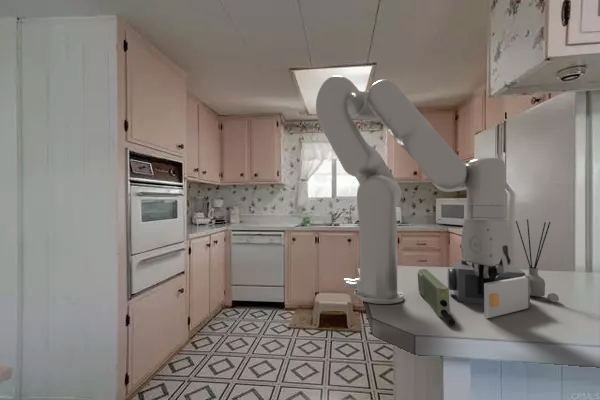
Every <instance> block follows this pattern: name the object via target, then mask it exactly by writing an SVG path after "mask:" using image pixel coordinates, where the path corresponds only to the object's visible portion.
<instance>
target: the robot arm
mask: <svg viewBox="0 0 600 400" xmlns="http://www.w3.org/2000/svg"><path fill="white" fill-rule="evenodd" d="M315 112H316V117H317V122H318V123H319V125H320V128H321V130H322V131H323V133H324V136H325V137H326V139H327V140H328V142H329V144H330V146H331V148H332V150H333V152H334V154H335V156H336V157H337V158H338V160H339V163H340V164H341V167H342V169H343V170H344V171H345V173H346V174H348V175H349V176H352V177H355V178H356V180H357V182H358V183H359V187H358V189H357V191H356V205H357V213H358V214H357V215H358V224H359V227H358V228H359V229H358V233H359V234H358V236H359V277H356V278H355V279H352V278H344V279H343V286H345V287H346V288H355V289H354V290H353V297H355V299H356V300H359V301H361V302H365V303H370V304H377V305H391V304H393V305H394V304H397V303H401V302H403V301H404V299H405V294H404V293H403V292H402V291H401V290H398V289H399V287H398V285H399V284H398V282H399V280H398V226H397V225H398V224H397V223H398V221H397V207H398V205H399V204H400V203H401V199H402V188H401V187H400V184H399V183H398V181H397V180H396V177H394V175H393V173H392V171H391V169H390V168H389V166H388V165H387V163H386V162H385V160H384V158H383V156H381V154H380V152H379V151H378V150H376V149H375V148H374V147H372V146H371V145H370V144H369V143H368V142H367V141H366V140H365V138H364V137H363V135H362V134H361V132H360V130H359V128H358V126H357V125H356V123H355V121H354V120H361V121H371V122H372V121H373V122H375V121H376V122H381V124H382V125H383V127H384V128H385V129H386V130H387V132H388V133H389V134H390V136H391V137H392V138H393V139H394V141H396V143H397V144H398V145H399V146H400V147H401V148H402V149H403V150H405V151H406V152H407V153H408V155H409V156H410V157H411V159H412V160H414V162H415V163H416V165H417V166H418V167H419V168H420V170H421V171H422V172H423V173H424V175H425V176H426V178H427V179H428V180H429V181H430V183H431V184H432V186H434V187H435V188H436V189H438V190H439V191H441V192H444V193H451V192H457V191H466V211H465V213H466V218H465V219H464V221H463V225H462V231H461V242H460V257H461V259H464V260H465V261H466V263H467V264H468V265H470V266H472V267H473V268H474V270H475V275H476V276H478V277H477V288H478V294H479V295H482V296H484V283H488V282H494V281H495V278H497V277H498V275H499V274H500V273H508V272H509V268H508V265H511V263H512V253H513V249H512V240H511V239H512V238H511V237H512V236H511V231H510V227H509V221H508V219H507V218H506V215H507V214H506V213H507V212H506V210H507V209H506V206H507V205H506V203H507V202H506V163H505V161H504V160H503V159H502V158H499V157H481V158H480V157H479V158H475V159H471V160H469V161H468V162H463V161H462V159H461V157H459V155H457V153H456V152H455V151H454V150H453V149H452V147H451V146H450V145H449V144H448V143H447V142H446V140H445V139H444V138H443V137H442V136H441V134H439V133H438V132H437V131H436V130H435V128H434V127H433V126H432V124H431V123H430V122H429V121H428V120H427V118H425V117H424V115H423V114H422V113H421V112H420V111H419V110H418V108H417V107H416V106H415V105H414V104H413V103H412V101H411V100H410V99H409V98H408V96H407V95H406V94H405V93H404V92H403V91H402V89H401V88H399V86H398V85H397V84H396V83H394V82H393V81H392V80H389V79H379V80H377V81H376V82H373V84H371V86H370V87H369V89H368V90H359V89H358V87H357V86H356V85H355V84H354V82H352V81H351V80H350V79H349V78H347V77H345V76H342V75H332V76H330V77H328V78H327V79H325V81H324V82H323V83H322V84H321V86H320V88H319V90H318V91H317V96H316V99H315ZM490 268H491V269H490Z"/></svg>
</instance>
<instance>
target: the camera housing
mask: <svg viewBox="0 0 600 400" xmlns="http://www.w3.org/2000/svg"><path fill="white" fill-rule="evenodd" d="M452 264H453V265H452V268H447V279H446V280H447V288H448V290H449V291H453V293H454V295H455V297H456V299H457V301H458V302H461V303H462V302H463V303H473V304H483V305H484V296H482V295H479V294H478V288H477V277H478V276H476V275H475V270H474V268H473V267H472V266H470V265H468V264H467V263H466V261H465V260H464V259H463V258H461V261H453V262H452ZM508 268H509V272H508V273H500V274H499V275H498V277H497V278H495V281H500V280H506V279H511V278H517V277H523V275H526V272H524V271H523V270H521V269H519V268H517V267H516V266H514V265H513V264H510V265H508ZM490 269H491V268H490Z"/></svg>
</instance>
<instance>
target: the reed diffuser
mask: <svg viewBox="0 0 600 400" xmlns="http://www.w3.org/2000/svg"><path fill="white" fill-rule="evenodd" d="M526 222H527V223H526V224H527V225H526V226H527V234H528V235H527V236H528V237H527V238H528V247H529V248H528V249H529V256H528V253H527V250H526V247H525V243H524V239H523V236H522V233H521V229H520V227H519V223H518V220H515V224H516V228H517V230H518V233H519V236H520V239H521V243H522V246H523V250H524V252H525V256H526V259H527V263H528V274H526V275H527V276H530V296H533V297H544V296H545V292H546V282H545V281H546V280H544V278H543V277H541V276H540V275H539V268H538V267H537V266H538V263H539V259H540V257H541V254H542V251H543V248H544V244H545V241H546V237H547V234H548V231H549V228H550V226H551V221H549V222H548V224H547V222H544V223H543V228H542V232H541V236H540V240H539V243H538V244H539V246H538V249H537V254H536V257H535V262H534V265H533V262H532V251H531V250H532V249H531V239H530V238H531V237H530V236H531V235H530V224H529V219H526ZM546 224H547V228H546V231H545V227H546ZM544 232H545V234H544ZM543 235H544V237H543ZM546 299H547V300H548V301H549V302H550V303H558V302H559V300H560V298H559V296H558V294H557V293H555V292H551V293H548V294H547V298H546Z"/></svg>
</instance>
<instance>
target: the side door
mask: <svg viewBox="0 0 600 400" xmlns="http://www.w3.org/2000/svg"><path fill="white" fill-rule="evenodd" d="M527 275H528V274H525V275H523V277H517V278H511V279H506V280H500V281H494V282H488V283H484V304H483V306H484V307H483V308H484V309H483V310H484V312H483V313H484V314H483V315H484V317H485V318H488V319H490V318H491V319H492V318H495V317H499V316H502V315H506V314H511V313H514V312H519V311H522V310H526V309H530V308H531V295H530V276H527Z"/></svg>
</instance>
